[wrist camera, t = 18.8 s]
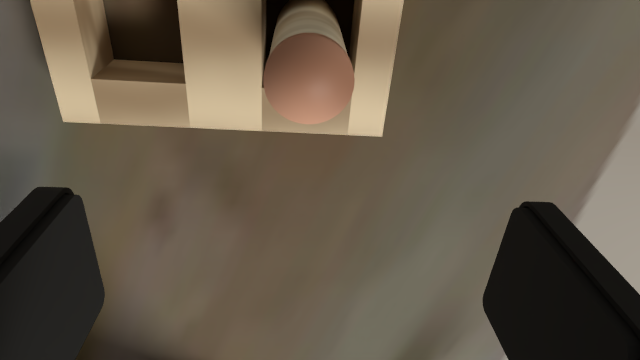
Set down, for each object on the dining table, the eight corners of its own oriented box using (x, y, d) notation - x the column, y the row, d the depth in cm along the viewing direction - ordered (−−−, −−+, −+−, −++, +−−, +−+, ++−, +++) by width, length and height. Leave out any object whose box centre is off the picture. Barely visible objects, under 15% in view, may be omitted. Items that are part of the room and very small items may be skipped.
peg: (336, 61, 23) (349, 126, 17) (275, 57, 23) (263, 122, 16) (342, -4, 22) (359, 39, 15) (275, -9, 21) (263, 33, 15)
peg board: (374, 112, 25) (381, 136, 23) (88, 98, 24) (63, 121, 22) (399, -66, 20) (413, -61, 18) (44, -93, 19) (4, -92, 17)
